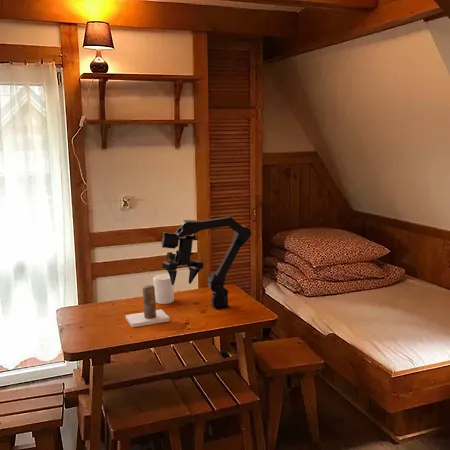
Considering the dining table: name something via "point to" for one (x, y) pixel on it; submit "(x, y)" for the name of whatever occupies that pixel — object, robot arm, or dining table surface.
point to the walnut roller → (149, 301)
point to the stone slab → (139, 319)
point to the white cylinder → (163, 289)
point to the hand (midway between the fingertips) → (181, 284)
